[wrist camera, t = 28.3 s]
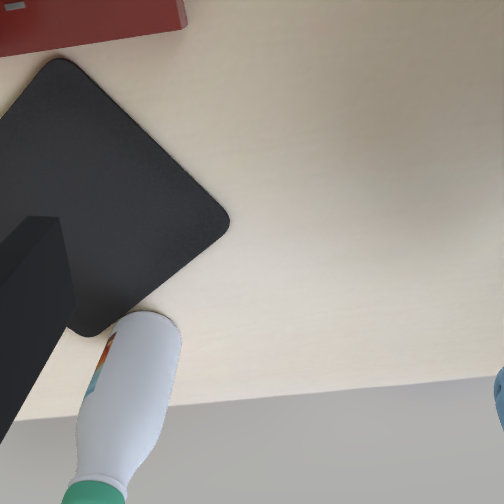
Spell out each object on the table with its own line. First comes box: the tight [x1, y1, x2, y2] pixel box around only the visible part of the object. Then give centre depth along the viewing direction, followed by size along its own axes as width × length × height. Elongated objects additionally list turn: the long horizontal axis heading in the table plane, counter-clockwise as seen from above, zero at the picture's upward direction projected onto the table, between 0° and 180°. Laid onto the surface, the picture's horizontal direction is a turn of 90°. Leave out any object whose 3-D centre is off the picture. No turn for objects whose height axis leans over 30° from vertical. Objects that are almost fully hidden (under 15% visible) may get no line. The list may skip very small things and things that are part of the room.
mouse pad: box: [0, 58, 230, 337], centre depth 43 cm, size 23×20×1 cm
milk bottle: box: [61, 311, 182, 504], centre depth 43 cm, size 8×8×20 cm
